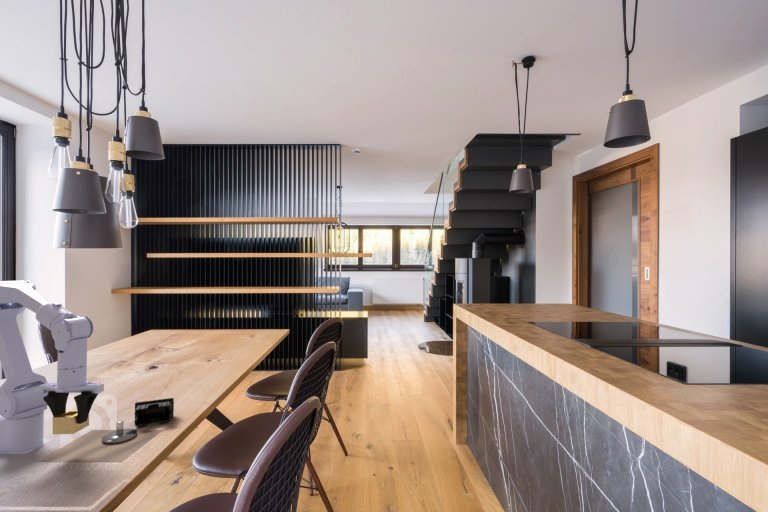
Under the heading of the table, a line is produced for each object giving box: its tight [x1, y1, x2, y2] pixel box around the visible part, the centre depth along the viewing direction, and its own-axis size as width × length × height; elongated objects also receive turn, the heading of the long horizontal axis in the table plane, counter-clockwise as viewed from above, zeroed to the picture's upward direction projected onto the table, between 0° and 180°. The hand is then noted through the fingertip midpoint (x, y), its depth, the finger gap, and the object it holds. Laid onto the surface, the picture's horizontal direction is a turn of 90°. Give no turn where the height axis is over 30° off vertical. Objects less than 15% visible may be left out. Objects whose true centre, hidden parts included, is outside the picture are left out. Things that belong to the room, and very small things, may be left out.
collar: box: [52, 409, 90, 435], centre depth 98 cm, size 5×5×4 cm
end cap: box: [133, 397, 175, 427], centre depth 118 cm, size 10×7×7 cm
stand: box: [101, 420, 138, 444], centre depth 107 cm, size 8×8×4 cm
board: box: [36, 429, 164, 463], centre depth 103 cm, size 20×18×1 cm
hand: (71, 422), depth 98 cm, fingers closed on collar, 5 cm apart
